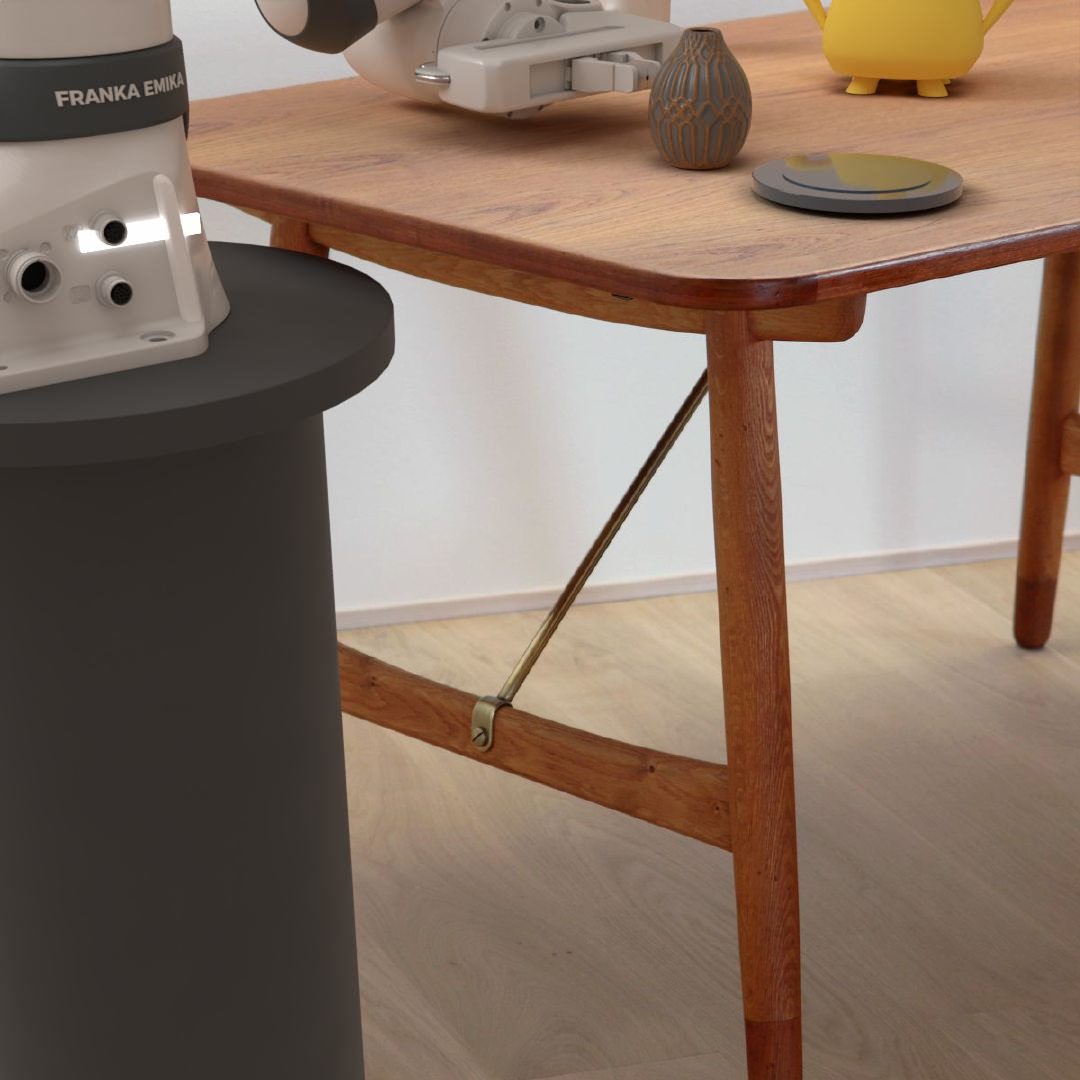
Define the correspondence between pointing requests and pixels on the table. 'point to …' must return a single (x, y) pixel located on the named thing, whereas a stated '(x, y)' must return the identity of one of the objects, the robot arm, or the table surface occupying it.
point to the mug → (640, 8)
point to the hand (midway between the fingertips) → (647, 78)
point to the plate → (857, 183)
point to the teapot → (904, 40)
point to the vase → (700, 103)
